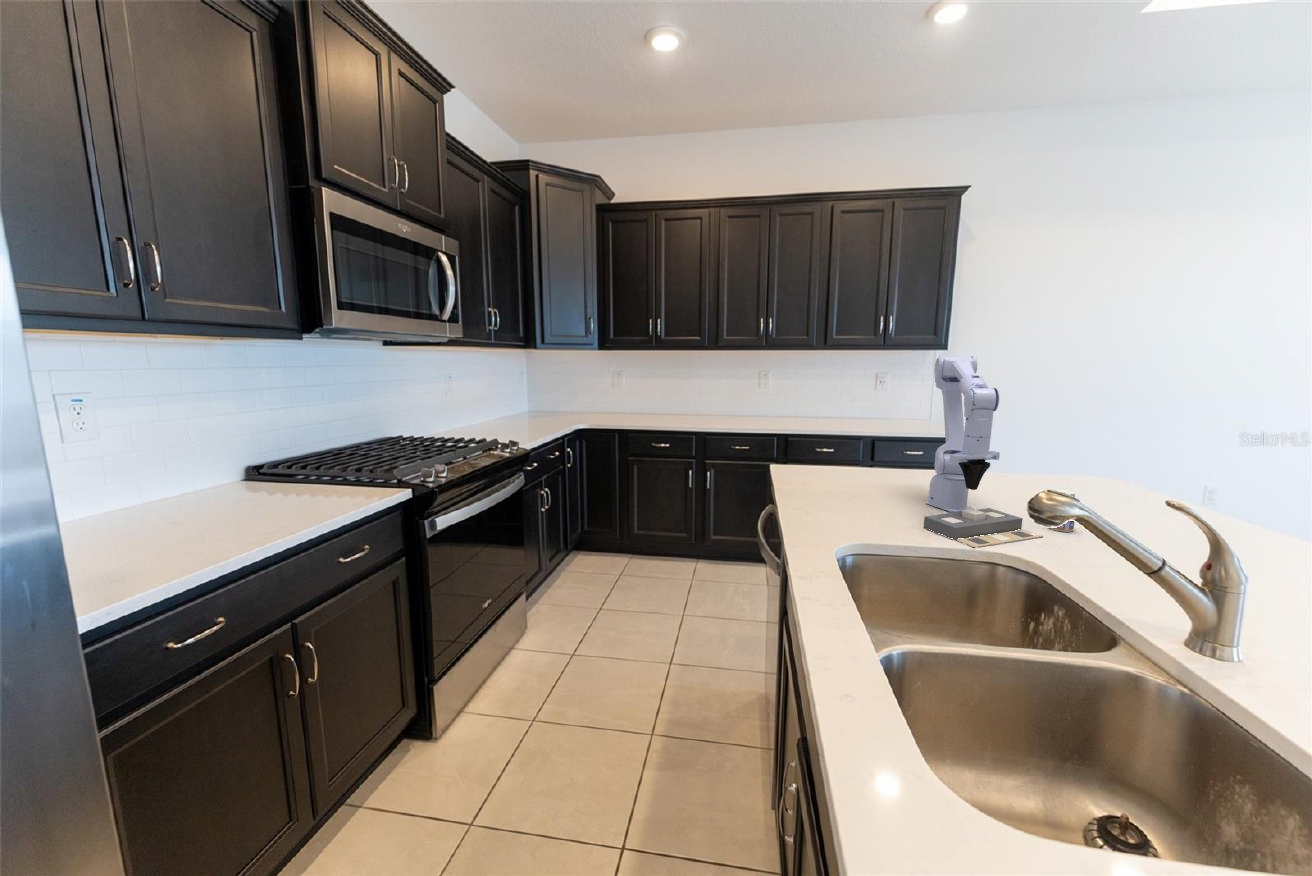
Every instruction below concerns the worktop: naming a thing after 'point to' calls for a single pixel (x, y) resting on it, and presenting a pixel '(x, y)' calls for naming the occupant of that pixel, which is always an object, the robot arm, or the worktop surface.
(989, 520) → the button board
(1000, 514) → the button end far
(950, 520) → the button end near
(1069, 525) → the pill bottle
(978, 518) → the button middle
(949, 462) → the robot arm
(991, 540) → the pattern card
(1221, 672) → the worktop surface
